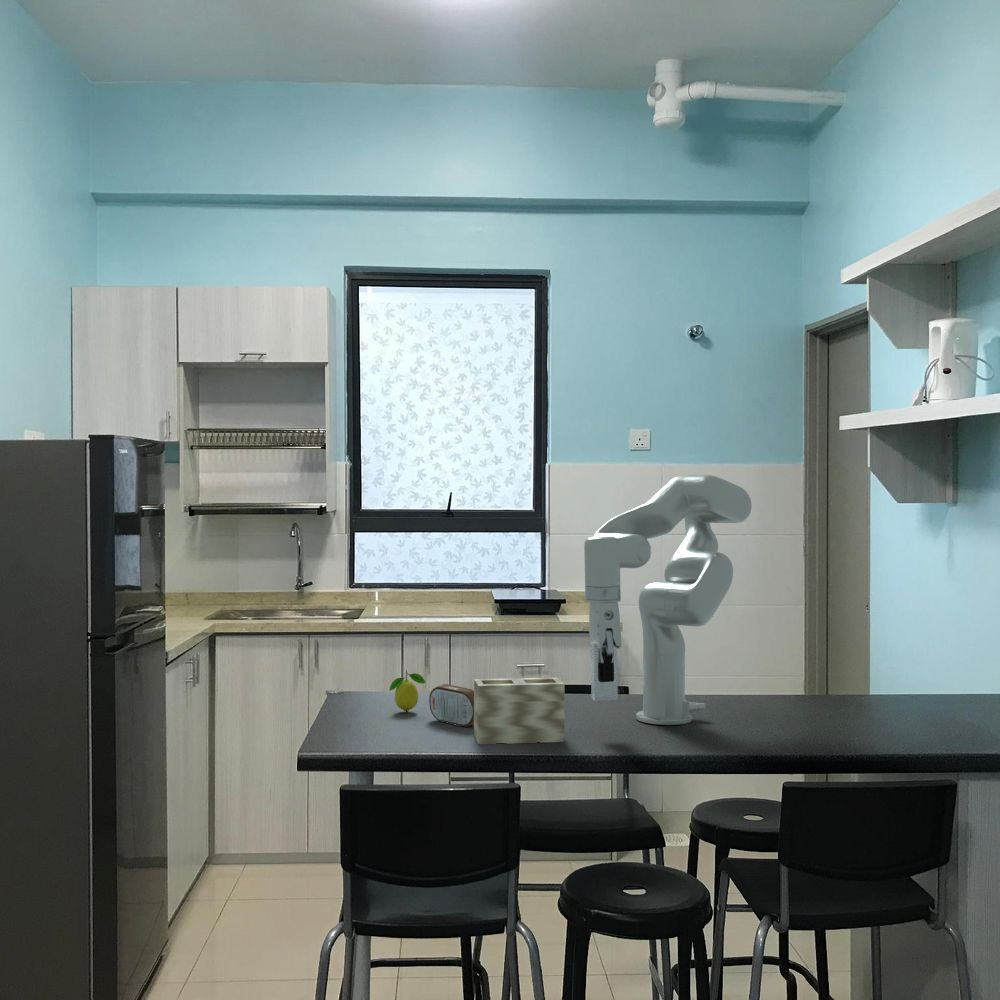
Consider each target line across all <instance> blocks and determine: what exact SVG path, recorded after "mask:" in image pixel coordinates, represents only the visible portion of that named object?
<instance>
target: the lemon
mask: <svg viewBox="0 0 1000 1000" xmlns="http://www.w3.org/2000/svg"><path fill="white" fill-rule="evenodd" d="M408 676H409V677H410V678H411V680H412V681H414V682H415V683H417V684H426V681H425V678H424V677H423V676H422V675H421V674H419V673H410V674H409V673H408V671H407V669H406V670H405V676H404V677H397V678H395V679H394V680H393V681H392V682H391V684H390V686H389V691H393V690H394V689H395V692H394V701H395V705H396V706H397V707H398V708H399V709H401V710H403V712H404V711H408V712H409V711H410V710H411V709H414V708H415V707H416V706H417V704H418V701H419V693H418V689H417V687H416V684H414V682H412V681H409V679H408Z"/></svg>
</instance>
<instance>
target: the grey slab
mask: <svg viewBox="0 0 1000 1000" xmlns="http://www.w3.org/2000/svg"><path fill="white" fill-rule="evenodd" d="M589 642H590V641H589ZM613 644H615V643H614V642H613ZM589 647H590V648H589V649H590V684H591V685H590V686H591V687H590V688H591V691H590V692H591V699H592V700H593V701H594V702H599V701H601V702H602V701H616V700H619V698H618V697H619V695H618V691H619V690H618V662H617V661H618V657H617V656H618V655H617V653H618V651H617V650H618V648H616V647H617V646H616V647H615V645H613V647H614V681H613V682H600V681H599V663H600V649H599V648H598V647H596V644H594V643H593V642H590V643H589ZM603 648H607V647H606V646H604V647H603ZM604 652H606V651H603V655H604Z"/></svg>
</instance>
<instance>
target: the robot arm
mask: <svg viewBox="0 0 1000 1000" xmlns="http://www.w3.org/2000/svg"><path fill="white" fill-rule="evenodd" d="M752 506H753V505H752V500H751V496H750V495H749V493H748V492H747V491H746V489H744V488H743V487H741V486H739V485H737V484H735V483H732V482H731V481H728V480H726V479H724V478H721V477H719V476H716V475H712V474H711V475H710V474H700V475H699V474H698V475H697V474H696V475H694V474H692V475H689V474H688V475H679V476H675V477H673V478H672V479H670V480H669V481H668V482H667V483H666V484H664V485H663V486H662V488H660V489H659V490H658V491H657V492H656V493H655V494H654V495H653V496H652V497H651V498H650V499H649V500H648V501H647V502H645V503H643V504H641V505H639V506H636V507H635V508H632V509H631V510H628V511H625V512H623V513H621V514H619V515H617V516H614V517H613V518H611V519H610V520H608V521H607V522H605V523H604V524H603V525H601V527H600V528H598V530H597V531H596V532H594V534H593V535H592V536H590V537H587V538H586V539H585V541H584V547H583V548H584V553H583V554H584V585H585V586H584V590H585V592H584V595H585V596H584V598H585V600H584V601H585V602H586V603H587V602H588V603H589V606H588V607H589V608H588V609H589V610H588V611H589V612H588V614H589V615H588V616H589V617H588V619H589V620H588V624H589V625H588V632H589V633H588V634H589V642H593V643H594V644H596V647H598V648H599V649H600V663H599V681H600V682H613V681H614V647H613V645H615V647H616V646H617V647H616V648H617V650H618V649H621V647H622V631H621V616H620V608H619V602H621V599H622V597H621V593H622V592H621V569H639V568H641V567H643V566H645V565H646V564H647V563H648V562H649V561H650V559H651V557H652V556H651V555H652V545H651V544H650V541H649V539H650V540H651V539H653V538H658V537H661V536H663V535H664V536H665V535H666V534H669V533H671V532H672V531H673V530H674V528H676V526H678V524H680V522H682V520H683V519H684V525H685V526H684V527H685V529H684V530H685V534H684V537H683V539H682V541H681V542H680V544H679V545H678V547H677V548H676V549H675V551H674V553H673V554H672V556H671V557H670V559H669V560H668V562H667V565H666V567H665V569H664V573H663V574H664V580H665V581H655V582H650V583H648V584H646V585H645V586H644V587H643V588H642V589H641V591H640V593H639V596H638V608H639V609H638V610H639V614H640V619H641V620H640V621H641V626H642V641H643V643H642V644H643V645H642V646H643V647H642V648H643V650H642V693H643V694H642V710H640V711H638V712H636V714H635V719H636V720H637V721H639V722H642V723H646V724H651V725H657V726H658V725H660V726H675V725H676V726H677V725H686V724H689V723H691V722H692V720H693V719H692V718H693V716H692V714H693V712H697V713H699V712H700V713H701V712H706V711H707V707H706V706H707V705H706V703H705V702H696V701H695V702H693V701H692V702H691V701H689V700H687V699H686V695H685V694H686V643H685V638H684V635H683V633H682V631H681V630H680V627H679V626H685V627H702V626H705V625H707V624H708V623H709V622H710V620H711V619H712V618H713V617H714V615H715V613H716V612H717V610H718V609H719V607H720V605H721V604H722V601H723V600H724V598H725V596H726V595H727V593H728V592H729V589H730V588H731V585H732V582H733V577H734V566H733V563H732V560H731V559H730V558H729V556H727V555H726V554H724V553H722V552H719V542H718V538H717V536H716V534H715V533H714V531H713V528H712V526H711V524H713V523H714V524H715V523H716V524H740V523H742V522H744V521H746V520H747V519H748V518H749V516H750V514H751V511H752ZM613 642H614V643H615V644H613ZM604 646H606V647H607V648H603V647H604ZM603 651H606V652H604V655H603Z"/></svg>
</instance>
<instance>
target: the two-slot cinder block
mask: <svg viewBox="0 0 1000 1000" xmlns="http://www.w3.org/2000/svg"><path fill="white" fill-rule="evenodd" d="M473 691H474V725H473V736H475V737H474V738H476V739H475V741H476V742H477V745H497V744H496V743H507V744H533V743H535V744H536V743H537V742H540V743H564V742H565V683H564V682H563V681H562V680H560V678H558V677H518V678H517V677H516V678H512V677H510V678H474V679H473ZM560 741H561V742H560ZM563 741H564V742H563Z"/></svg>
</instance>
